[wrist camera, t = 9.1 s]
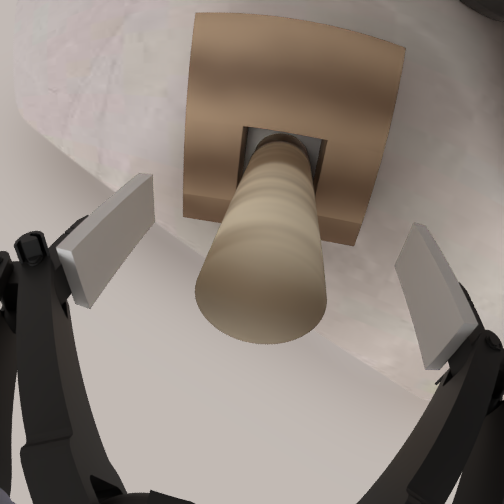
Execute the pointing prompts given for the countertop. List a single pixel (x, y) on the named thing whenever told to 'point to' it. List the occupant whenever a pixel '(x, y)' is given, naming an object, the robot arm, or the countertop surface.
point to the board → (288, 109)
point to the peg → (267, 251)
